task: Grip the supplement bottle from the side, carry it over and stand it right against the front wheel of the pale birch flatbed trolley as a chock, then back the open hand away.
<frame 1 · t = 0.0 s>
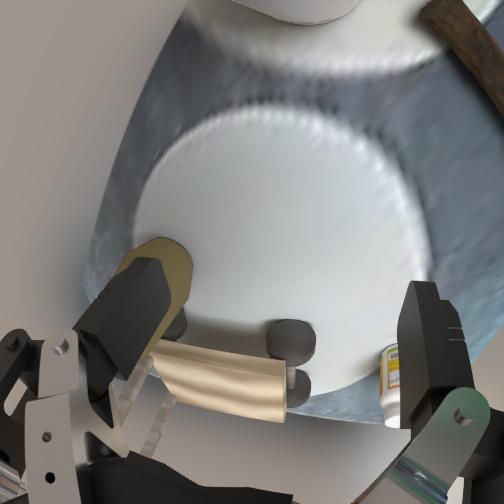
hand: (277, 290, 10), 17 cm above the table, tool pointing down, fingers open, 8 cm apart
squeeze bottle: (170, 256, 35), on the table
trolley: (236, 342, 42), on the table
supplement bottle: (400, 352, 36), on the table
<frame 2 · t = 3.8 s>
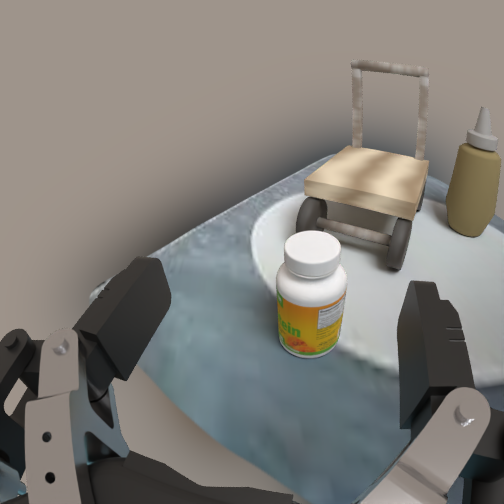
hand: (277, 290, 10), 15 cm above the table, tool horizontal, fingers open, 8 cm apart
squeeze bottle: (464, 228, 39), on the table
trolley: (371, 221, 42), on the table
supplement bottle: (308, 337, 27), on the table
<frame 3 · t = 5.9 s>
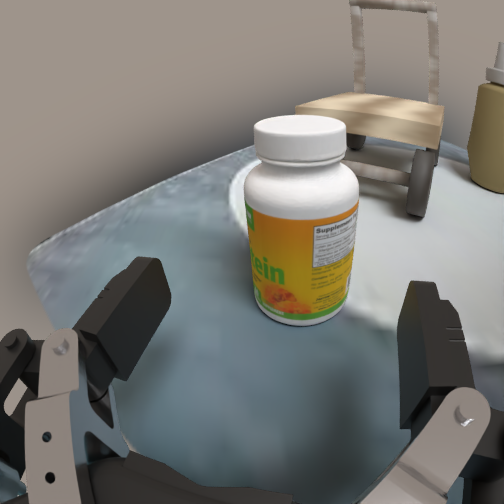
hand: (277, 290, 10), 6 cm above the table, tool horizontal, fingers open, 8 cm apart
squeeze bottle: (490, 185, 30), on the table
trolley: (380, 172, 33), on the table
supplement bottle: (301, 296, 18), on the table
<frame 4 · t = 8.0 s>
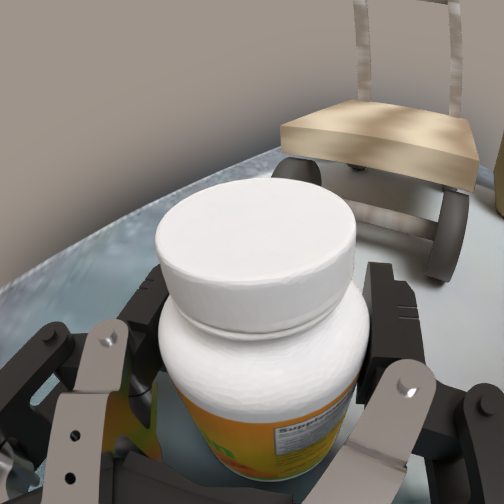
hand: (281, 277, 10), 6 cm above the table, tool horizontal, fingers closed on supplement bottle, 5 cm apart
trolley: (389, 204, 26), on the table
supplement bottle: (272, 427, 12), on the table, touching gripper
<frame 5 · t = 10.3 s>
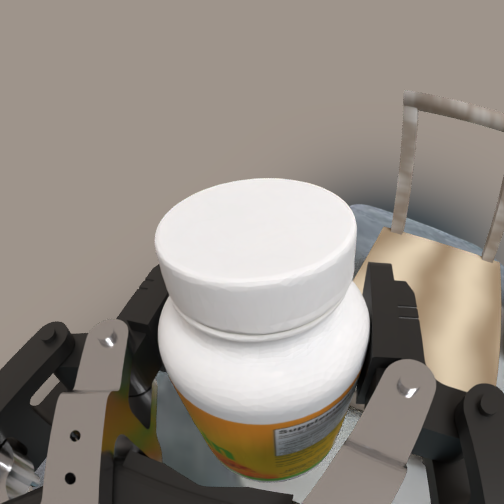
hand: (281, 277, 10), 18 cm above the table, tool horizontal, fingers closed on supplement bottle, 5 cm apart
trolley: (407, 356, 26), on the table
supplement bottle: (272, 428, 12), point 11 cm above the table, touching gripper
when the fingers open (7 cm above the table, at t = 13.0 s): supplement bottle stays where it is, on the table.
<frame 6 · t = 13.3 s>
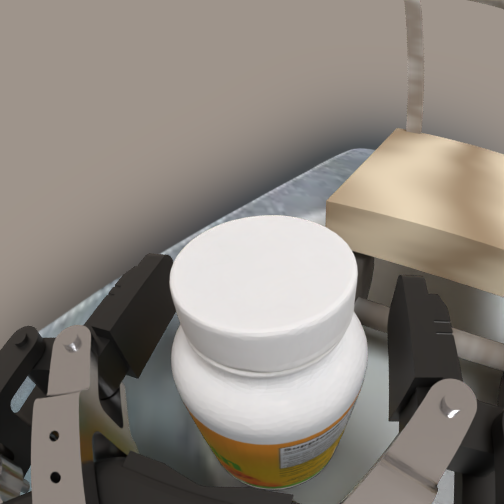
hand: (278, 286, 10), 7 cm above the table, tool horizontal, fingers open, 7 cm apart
trolley: (447, 282, 19), on the table
supplement bottle: (275, 438, 12), on the table
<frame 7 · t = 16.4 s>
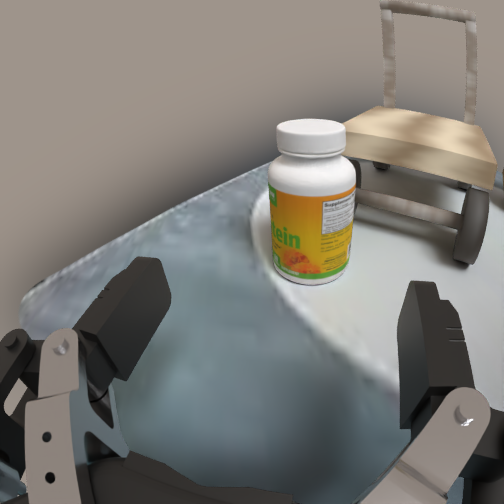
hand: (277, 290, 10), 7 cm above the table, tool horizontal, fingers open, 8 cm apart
trolley: (415, 200, 29), on the table
supplement bottle: (310, 264, 22), on the table
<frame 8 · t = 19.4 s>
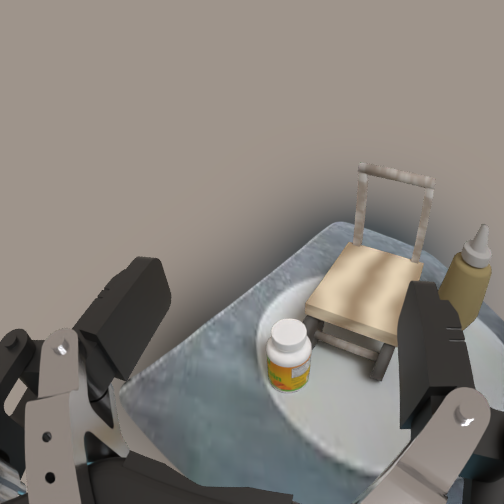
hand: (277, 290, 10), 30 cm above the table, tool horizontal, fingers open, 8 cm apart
squeeze bottle: (449, 322, 43), on the table
trolley: (363, 320, 46), on the table
supplement bottle: (288, 377, 40), on the table
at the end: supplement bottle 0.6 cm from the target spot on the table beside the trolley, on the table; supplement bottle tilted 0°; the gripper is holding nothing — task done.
